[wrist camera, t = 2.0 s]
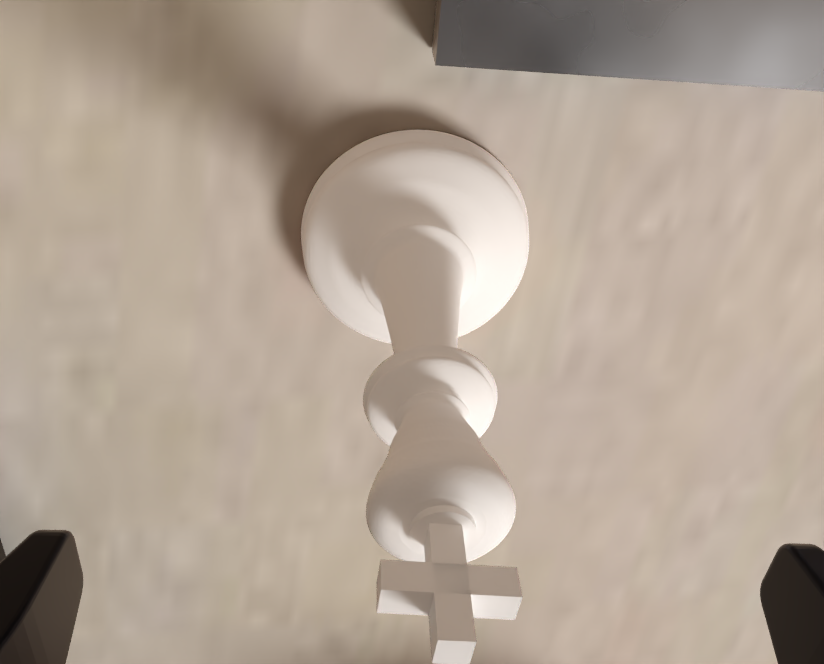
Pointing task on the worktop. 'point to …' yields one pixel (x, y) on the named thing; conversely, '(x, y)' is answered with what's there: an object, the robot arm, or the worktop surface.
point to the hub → (639, 39)
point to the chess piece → (426, 360)
